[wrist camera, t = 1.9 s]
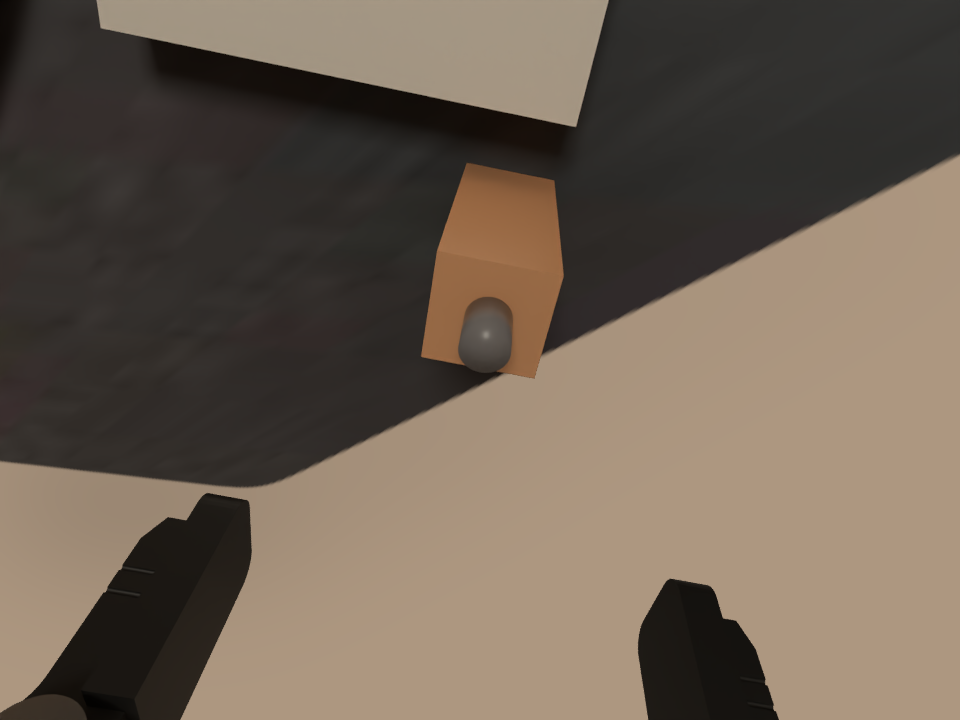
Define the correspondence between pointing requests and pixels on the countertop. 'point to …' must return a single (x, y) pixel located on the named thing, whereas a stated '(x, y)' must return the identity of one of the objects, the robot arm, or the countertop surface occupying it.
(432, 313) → the plug
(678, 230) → the countertop surface
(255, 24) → the socket
